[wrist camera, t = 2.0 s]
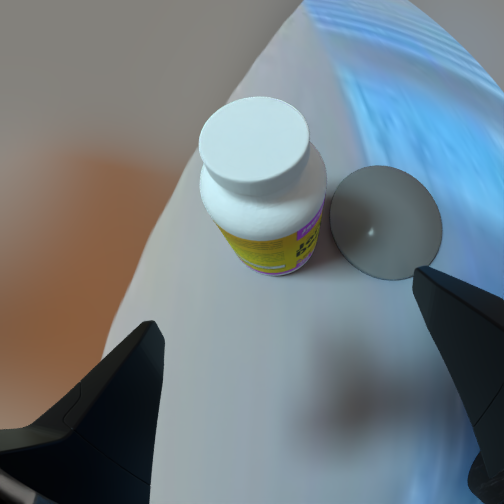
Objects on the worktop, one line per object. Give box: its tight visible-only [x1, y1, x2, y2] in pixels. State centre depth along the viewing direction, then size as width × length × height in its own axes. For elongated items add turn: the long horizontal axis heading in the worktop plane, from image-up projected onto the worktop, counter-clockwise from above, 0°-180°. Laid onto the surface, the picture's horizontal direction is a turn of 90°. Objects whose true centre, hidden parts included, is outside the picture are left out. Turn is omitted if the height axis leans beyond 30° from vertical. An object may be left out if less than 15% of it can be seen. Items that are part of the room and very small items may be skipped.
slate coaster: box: [330, 166, 442, 280], centre depth 22 cm, size 10×10×1 cm
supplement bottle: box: [199, 97, 327, 276], centre depth 18 cm, size 7×7×13 cm
